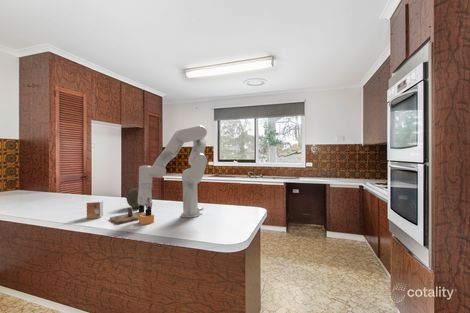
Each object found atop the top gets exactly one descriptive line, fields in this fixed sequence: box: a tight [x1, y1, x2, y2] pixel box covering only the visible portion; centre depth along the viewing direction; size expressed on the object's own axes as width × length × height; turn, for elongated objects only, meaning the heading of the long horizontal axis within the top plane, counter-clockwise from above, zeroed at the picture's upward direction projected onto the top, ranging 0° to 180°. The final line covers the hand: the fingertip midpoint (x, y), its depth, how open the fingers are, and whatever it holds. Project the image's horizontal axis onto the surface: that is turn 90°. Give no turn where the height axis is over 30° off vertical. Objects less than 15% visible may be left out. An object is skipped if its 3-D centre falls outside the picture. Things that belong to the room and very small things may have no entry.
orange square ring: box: [138, 213, 155, 225], centre depth 136 cm, size 7×7×4 cm
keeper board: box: [109, 206, 146, 226], centre depth 143 cm, size 20×14×7 cm
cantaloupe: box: [125, 187, 139, 209], centre depth 171 cm, size 14×14×15 cm
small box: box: [86, 199, 104, 219], centre depth 147 cm, size 8×6×10 cm
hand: (144, 214), depth 135 cm, fingers open, 9 cm apart
